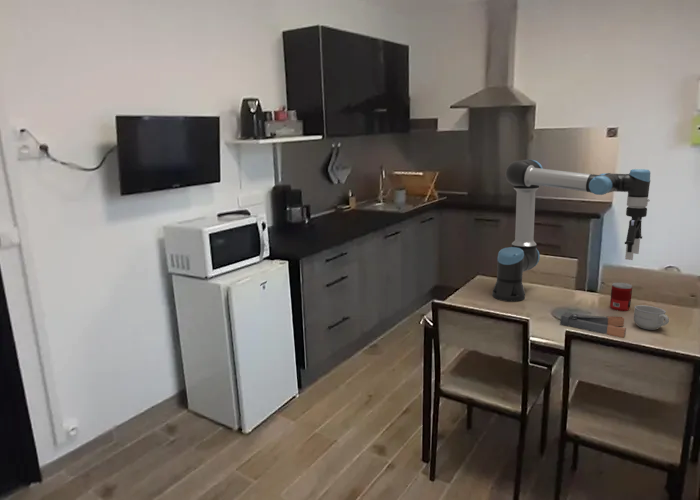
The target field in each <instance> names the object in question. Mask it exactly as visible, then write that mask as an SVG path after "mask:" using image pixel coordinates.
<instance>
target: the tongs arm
mask: <svg viewBox="0 0 700 500" xmlns="http://www.w3.org/2000/svg"><path fill="white" fill-rule="evenodd" d="M571 317H572V318H574V319H579V320H584V321H589V322H594V323H599V324H604V325H612V326H617V327H624V323H625V318H624V317H623V316H611V315H610V316H609V315H608V316H605V315H603V316H600V315H599V316H598V315H597V316H596V315H579V314H577V313H572V314H571Z"/></svg>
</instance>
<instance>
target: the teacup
mask: <svg viewBox="0 0 700 500" xmlns="http://www.w3.org/2000/svg"><path fill="white" fill-rule="evenodd" d="M633 321H634V323H635V324H636V326H638V327H639V328H641V329H644V330H649V331H652V330H653V331H654V330H657V329H659V328H662V327H663V326H666V325H668V324H669V322H670V318H669V316H668V315H667V314H666V310H665V309H663V308H660V307H657V306H652V305H645V304H644V305H643V304H639V305H634V311H633Z"/></svg>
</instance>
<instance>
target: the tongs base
mask: <svg viewBox="0 0 700 500" xmlns="http://www.w3.org/2000/svg"><path fill="white" fill-rule="evenodd" d="M571 314H573V313H571V312H568V311H565V312H564V313H563V314H561V316H560V324H559V325H561V326H566V327H569V328H570V327H571V328H577V329H582V330H586V331H591V332H595V333H600V334H603V335H604V334H605V335H609V336H614V337H618V338H625V337H626V333H627V332H626V331H627V328H626V327H624V326H612V325H604V324H599V323H594V322H589V321H584V320H579V319H575V318H572V317H571Z"/></svg>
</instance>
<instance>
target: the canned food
mask: <svg viewBox="0 0 700 500" xmlns="http://www.w3.org/2000/svg"><path fill="white" fill-rule="evenodd" d="M632 294H633V285H632V284H630V283H626V282H613V283H612V284H611V291H610V301H609V307H610V309H612V310H614V311H617V310H618V311H619V312H629V311H630V309H631V304H632V297H633V296H632Z"/></svg>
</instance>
